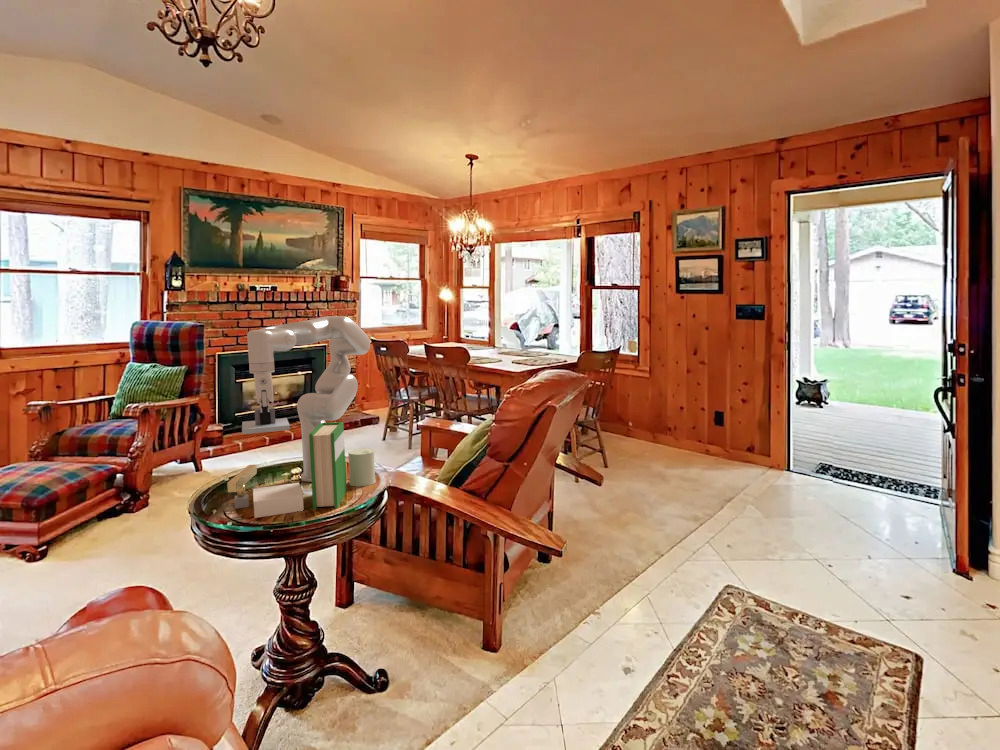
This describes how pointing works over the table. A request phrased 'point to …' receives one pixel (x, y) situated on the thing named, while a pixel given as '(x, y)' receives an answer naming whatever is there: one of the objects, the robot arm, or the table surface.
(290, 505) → the box
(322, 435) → the hardback book
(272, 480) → the table surface
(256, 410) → the snap lid
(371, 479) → the can
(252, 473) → the tan wooden plank
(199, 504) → the table surface
